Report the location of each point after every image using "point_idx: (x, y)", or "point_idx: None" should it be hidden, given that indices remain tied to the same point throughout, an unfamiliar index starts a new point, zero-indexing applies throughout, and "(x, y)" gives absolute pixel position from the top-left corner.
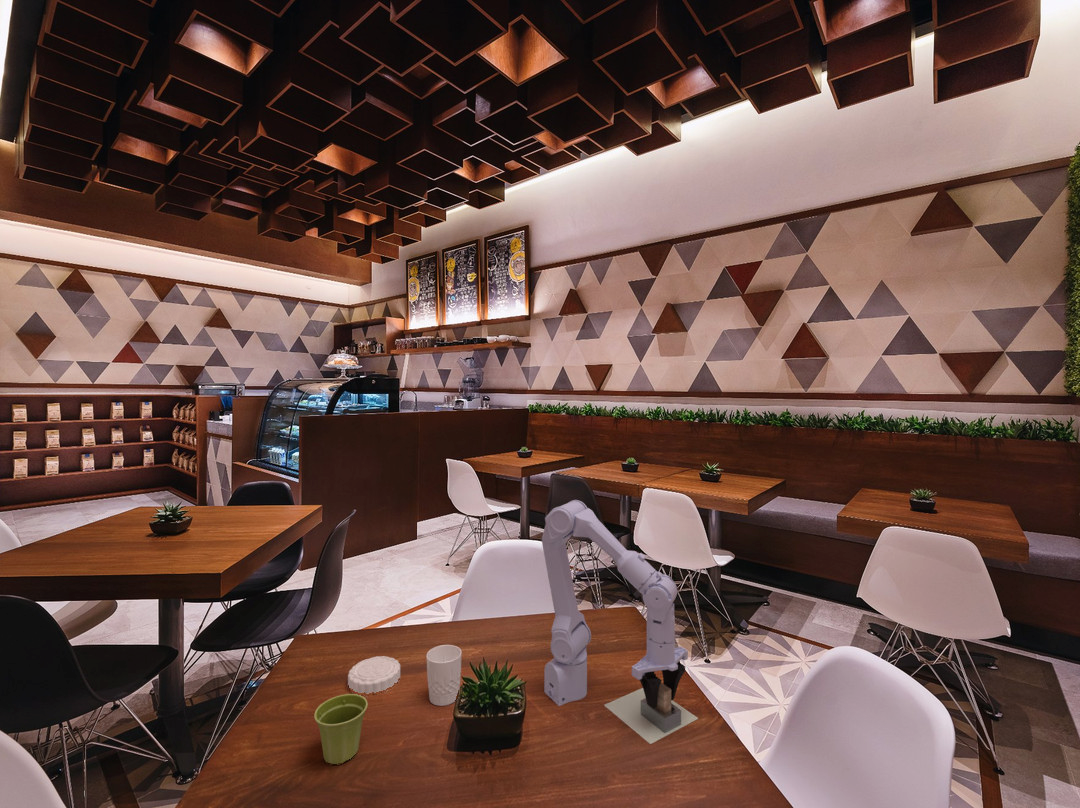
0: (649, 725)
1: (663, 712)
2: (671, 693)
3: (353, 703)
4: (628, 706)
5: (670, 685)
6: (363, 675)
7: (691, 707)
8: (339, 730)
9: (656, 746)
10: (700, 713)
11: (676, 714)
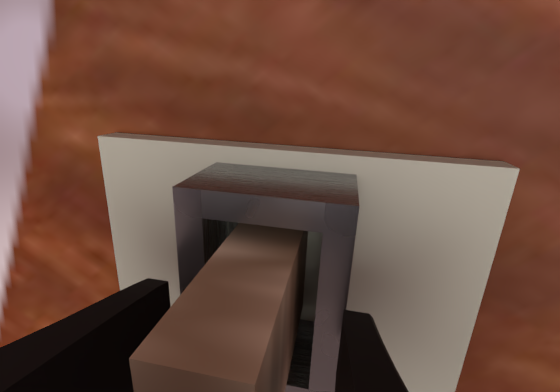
0: (371, 267)
1: (298, 255)
2: (135, 321)
3: None
4: None
5: (83, 388)
6: None
7: (71, 221)
8: None
9: (451, 155)
10: (61, 170)
11: (228, 187)
